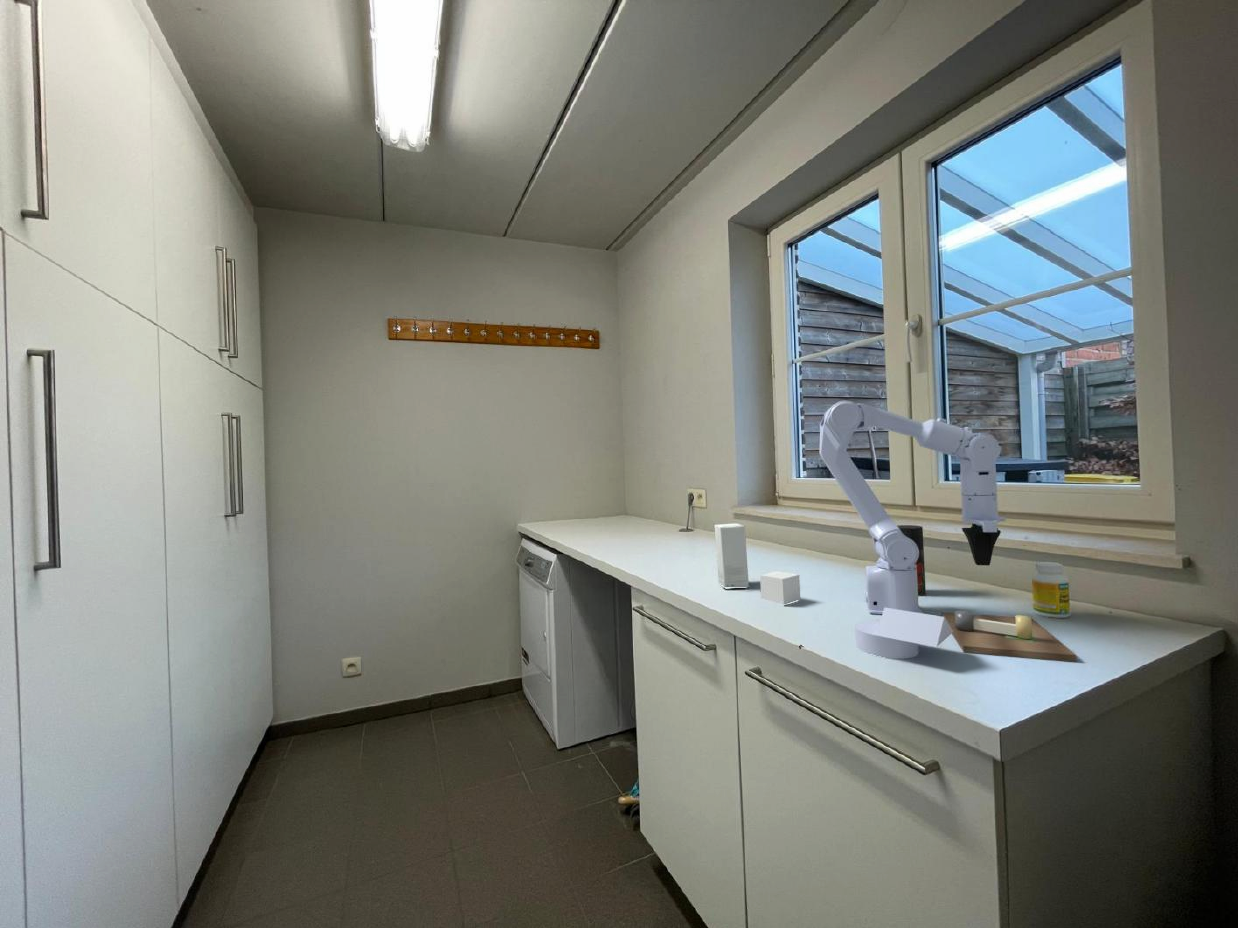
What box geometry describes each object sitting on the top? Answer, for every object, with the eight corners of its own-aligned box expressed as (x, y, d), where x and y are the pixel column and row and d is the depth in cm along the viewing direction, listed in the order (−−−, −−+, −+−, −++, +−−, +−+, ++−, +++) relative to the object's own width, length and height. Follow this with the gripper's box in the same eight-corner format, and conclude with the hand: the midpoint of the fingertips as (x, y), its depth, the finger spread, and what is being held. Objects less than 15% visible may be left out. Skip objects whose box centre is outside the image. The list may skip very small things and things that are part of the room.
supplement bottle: (1039, 608, 101) (1037, 560, 101) (1074, 614, 96) (1072, 563, 96) (1028, 614, 98) (1026, 563, 98) (1064, 620, 93) (1062, 567, 93)
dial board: (963, 652, 81) (963, 645, 81) (941, 617, 98) (941, 611, 98) (1076, 661, 75) (1076, 654, 75) (1031, 623, 93) (1031, 617, 93)
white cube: (761, 601, 115) (759, 574, 115) (778, 596, 119) (776, 570, 119) (783, 606, 110) (782, 578, 110) (800, 601, 114) (799, 574, 114)
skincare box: (749, 589, 126) (746, 526, 127) (722, 590, 127) (719, 527, 127) (741, 581, 135) (738, 522, 135) (716, 582, 135) (713, 523, 135)
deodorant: (926, 590, 118) (923, 525, 118) (925, 596, 113) (922, 528, 113) (896, 588, 121) (893, 524, 121) (894, 594, 116) (891, 528, 116)
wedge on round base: (954, 652, 81) (868, 635, 90) (952, 610, 81) (866, 597, 90) (937, 670, 75) (847, 649, 84) (935, 624, 75) (845, 608, 84)
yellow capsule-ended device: (953, 628, 88) (953, 609, 88) (957, 624, 90) (956, 605, 90) (1031, 641, 81) (1030, 620, 81) (1033, 636, 83) (1032, 615, 83)
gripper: (1015, 497, 91) (1019, 573, 91) (993, 491, 105) (996, 558, 105) (969, 497, 94) (972, 571, 94) (952, 492, 108) (955, 557, 108)
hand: (982, 564), depth 100 cm, fingers closed
